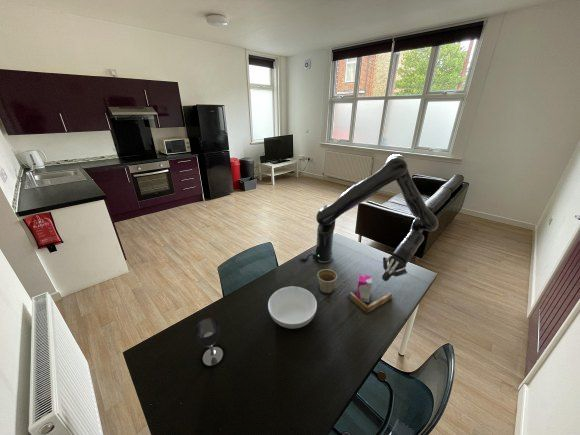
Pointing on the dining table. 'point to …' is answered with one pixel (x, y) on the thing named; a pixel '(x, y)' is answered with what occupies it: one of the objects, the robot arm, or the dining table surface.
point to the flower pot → (326, 280)
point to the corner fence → (372, 305)
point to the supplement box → (364, 287)
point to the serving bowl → (292, 307)
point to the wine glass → (209, 340)
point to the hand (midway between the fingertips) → (383, 280)
